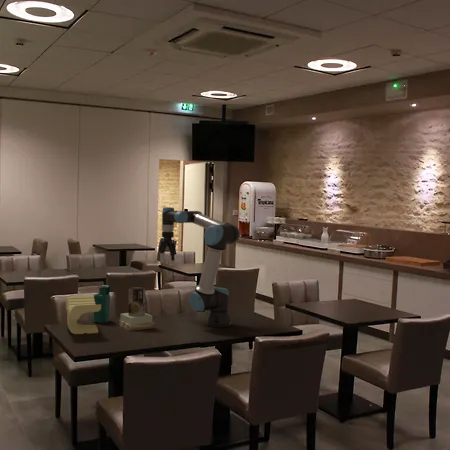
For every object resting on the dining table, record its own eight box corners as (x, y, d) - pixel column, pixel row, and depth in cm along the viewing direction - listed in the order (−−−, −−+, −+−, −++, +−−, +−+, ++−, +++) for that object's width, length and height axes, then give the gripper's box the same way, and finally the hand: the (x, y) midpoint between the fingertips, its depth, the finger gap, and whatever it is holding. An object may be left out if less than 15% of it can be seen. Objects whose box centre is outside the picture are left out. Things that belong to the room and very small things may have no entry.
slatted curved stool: (65, 325, 325) (66, 296, 324) (93, 324, 331) (93, 295, 330) (70, 338, 297) (71, 305, 296) (100, 336, 303) (101, 304, 302)
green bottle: (103, 323, 333) (104, 287, 332) (91, 322, 336) (92, 286, 335) (112, 320, 343) (112, 285, 342) (100, 319, 345) (100, 284, 344)
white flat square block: (152, 322, 327) (152, 315, 327) (130, 325, 319) (131, 318, 318) (141, 317, 338) (141, 311, 338) (120, 320, 330) (120, 313, 330)
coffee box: (145, 313, 331) (146, 287, 330) (143, 316, 325) (143, 289, 324) (130, 313, 332) (131, 286, 331) (128, 315, 325) (128, 288, 324)
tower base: (154, 329, 326) (154, 322, 326) (129, 332, 317) (129, 325, 317) (143, 323, 339) (143, 317, 339) (118, 326, 331) (118, 320, 330)
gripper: (182, 232, 343) (181, 266, 344) (164, 230, 364) (163, 261, 365) (171, 232, 339) (170, 266, 340) (154, 230, 360) (153, 262, 361)
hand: (167, 264), depth 353 cm, fingers open, 13 cm apart
